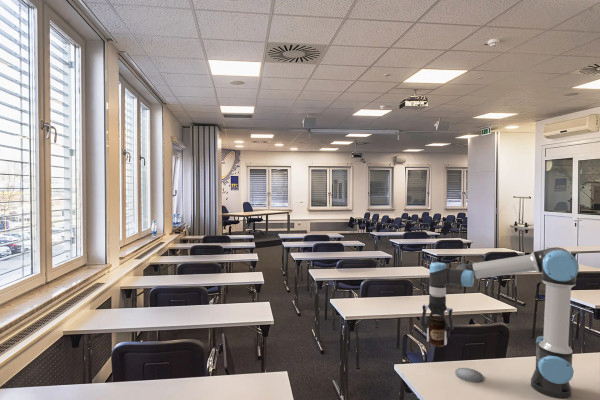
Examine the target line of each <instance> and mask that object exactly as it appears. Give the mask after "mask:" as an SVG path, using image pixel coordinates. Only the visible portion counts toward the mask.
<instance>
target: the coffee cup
mask: <svg viewBox="0 0 600 400" xmlns="http://www.w3.org/2000/svg"><path fill="white" fill-rule="evenodd" d="M444 321H445V320H442V318H441V316H440V315H433V316H432V318H431V319H430V320H429V321H428V322H429V325H428V326H429V336H430V340H429V344H430V345H431V346H433V347H438V348H441V347H444V346H445V345H444V339H445V329H446V328H445V323H444Z"/></svg>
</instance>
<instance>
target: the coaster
mask: <svg viewBox="0 0 600 400" xmlns="http://www.w3.org/2000/svg"><path fill="white" fill-rule="evenodd" d="M454 372H455V373H454V374H455V376H456V377H457V378H459V379H460V380H462V381H466V382H470V383H480V382H482V381H483V380H484V376H483V374H482V373H481V372H480V371H478V370H476V369H472V368H469V367H458V368H457V369H455V371H454Z"/></svg>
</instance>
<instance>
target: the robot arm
mask: <svg viewBox="0 0 600 400" xmlns="http://www.w3.org/2000/svg"><path fill="white" fill-rule="evenodd" d="M529 272H537V273H540V274H541V281H542V282H543V283H544V284H545V295H544V296H545V297H544V314H543V315H544V317H543V320H544V321H543V334H542V335H539V336H537V337H536V340H535V344H536V347H535V368H534V371H533V374H532V376H531V378H530V386H531V388H533V389H534V390H535V391H537V392H538V393H541V394H543V395H546V396H549V397H552V398H556V399H567V398H570V397H572V387H571V384H570V381H571V380H572V379H573V377H574V372H575V370H574V368H573V349H572V348H571V347H570V346H569V340H570V339H569V337H570V336H569V335H570V317H571V314H570V313H571V297H572V296H571V295H572V288H573V287H575V286H576V285H577V276H578V273H579V262H578V260H577V258H576V257H575V256H574V255H573V254H572V253H570V251H568V250H567V249H565V248H562V247H557V246H556V247H549V248H545V249H541V250H537V251H535V250H534V251H532V252H531V253H529V254H525V255H517V256H513V257H505V258H498V259H494V260H493V259H491V260H488V261H487V260H486V261H480V262H474V263H473V262H472V263H462V264H459V265H457V267H455V268H451V267H450V268H449V267H447V264H446V263H445V262H438V261H437V262H431V263H430V265H429V272H428V273H429V284H428V285H429V288H428V289H429V293H428V295H429V296H428V300H429V301H428V304H423V305H422V315H421V321H420V326H423V327H424V333H425V335H426V342H428V343H430V336H429V322H428V321H429V320H430V319H431V318H432V316H434V315H436V316H440V317H441V318H442V320H445V321H444V323H445V336H444V346H447V344H448V339H449V338H450V332H453V331H454V330H455V329H454V328H455V327H454V319H453V308H449V307H447V305H446V304H447V303H446V302H447V297H446V295H447V285H453V286H458V287H459V286H460V287H464V288H465V287H470V288H472V287H474V284H475V283H474V282H475V279H476V280H477V279H486V278H491V277H493V278H494V277H499V276H501V277H502V276H506V275H515V274H522V273H529ZM428 309H429V310H430V314H429V316H428V318H427V321H426V317H427V316H426V315H427V310H428ZM446 312H447V314H448V321H449V323H448V321H447V318H446V315H445V313H446Z"/></svg>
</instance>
